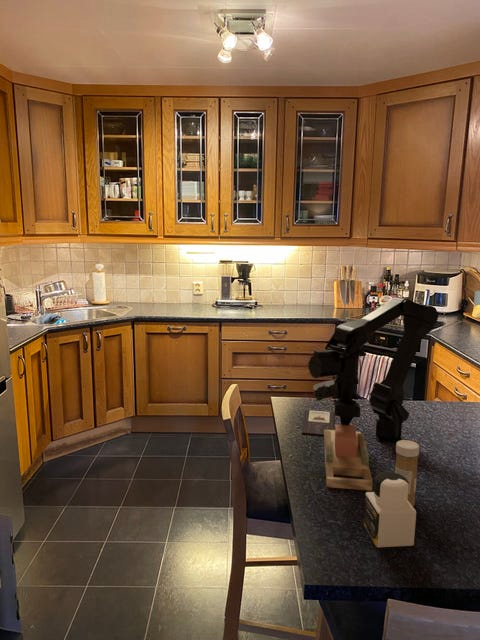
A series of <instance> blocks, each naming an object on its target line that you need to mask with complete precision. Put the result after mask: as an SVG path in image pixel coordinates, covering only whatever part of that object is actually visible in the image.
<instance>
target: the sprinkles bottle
mask: <svg viewBox="0 0 480 640" xmlns="http://www.w3.org/2000/svg"><path fill="white" fill-rule="evenodd" d="M395 443H396V444H395V454H396V458H395V466H394V473H398V474H400V475H402V476H404V477H405V478H406V479H407V480H408V482H409V487H408V501H409V503H410V504H411V505H412V506H413V507H414V506H415V505H416V501H415V500H416V490H417V476H418V475H417V474H418V473H417V472H418V470H417V469H418V459H419V458H418V457H419V454H420V445H419V444H418V443H417V442H415V441H412V440H408V439H402V440H401V441H398V442H395Z"/></svg>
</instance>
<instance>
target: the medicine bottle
mask: <svg viewBox="0 0 480 640" xmlns="http://www.w3.org/2000/svg"><path fill="white" fill-rule="evenodd" d="M373 483H374V485H373V491H366V492H365V498H364V514H363V515H364V517H363V526H364V528H365V530H366V531H367V532H368V535H369V537H370V538H371V540H372V541H373V544H374V545H375V547H376V548H391V547H392V548H394V547H411V546H414V545H415V535H416V534H415V533H416V532H415V531H416V521H417V519H416V518H417V511H416V509H415V508H414V506H412V505H411V504H410V503H409V501H408V487H409V482H408V480H407V479H406V478H405V477H404V476H402V475H400V474H398V473H395V471H382V472H381V471H380V472H379V473H377V474H376V475H375V477H374V482H373Z"/></svg>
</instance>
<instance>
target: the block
mask: <svg viewBox="0 0 480 640" xmlns="http://www.w3.org/2000/svg"><path fill="white" fill-rule="evenodd" d="M334 430H335V456H345V457H356V450H357V435H356V432H357V430H356V426H355V425H350V424H349V425H341V424H336V423H334Z"/></svg>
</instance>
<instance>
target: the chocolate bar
mask: <svg viewBox="0 0 480 640" xmlns="http://www.w3.org/2000/svg"><path fill="white" fill-rule="evenodd" d="M304 411H305V412H304V417H303V422H302V429H301V435H303V436H304V435H308V436H316V437H324V429H325V430H335V415H334V411H322V410H321V411H320V410H310V409H307V410H306V409H305V410H304Z"/></svg>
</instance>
